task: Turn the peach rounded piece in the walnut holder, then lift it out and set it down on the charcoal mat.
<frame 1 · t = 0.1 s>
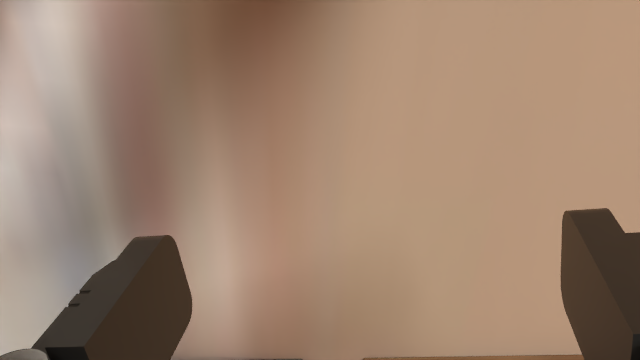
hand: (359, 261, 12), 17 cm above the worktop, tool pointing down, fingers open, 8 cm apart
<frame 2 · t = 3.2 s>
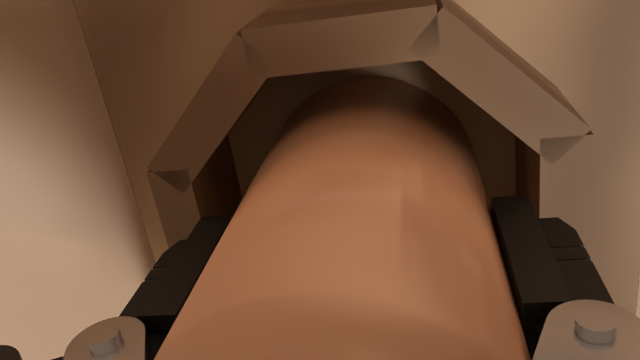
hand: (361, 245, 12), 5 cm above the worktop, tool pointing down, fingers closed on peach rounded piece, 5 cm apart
peach rounded piece: (371, 176, 16), point 2 cm above the worktop, touching gripper, walnut holder
walnut holder: (374, 154, 17), on the worktop
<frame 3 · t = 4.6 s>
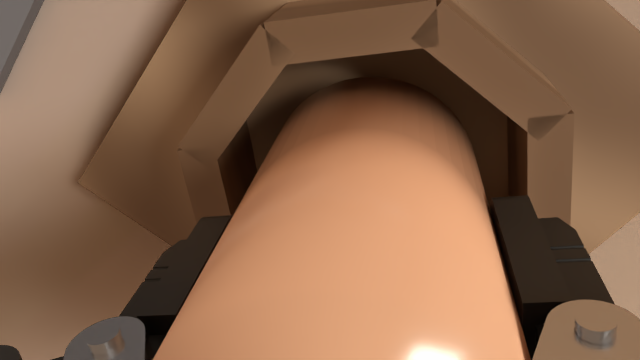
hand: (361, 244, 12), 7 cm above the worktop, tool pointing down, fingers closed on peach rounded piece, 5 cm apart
peach rounded piece: (371, 175, 16), point 3 cm above the worktop, touching gripper
walnut holder: (379, 138, 18), on the worktop
when the fingers open (5 cm above the worktop, at t = 5.7 s): peach rounded piece stays where it is, resting on walnut holder.
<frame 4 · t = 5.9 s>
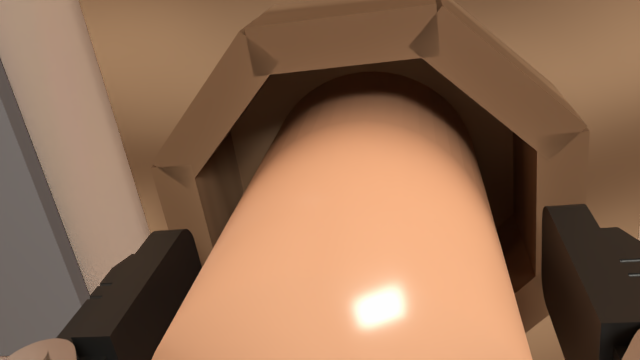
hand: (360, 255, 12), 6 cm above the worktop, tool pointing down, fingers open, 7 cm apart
peach rounded piece: (372, 169, 16), point 1 cm above the worktop, touching walnut holder
walnut holder: (374, 151, 17), on the worktop
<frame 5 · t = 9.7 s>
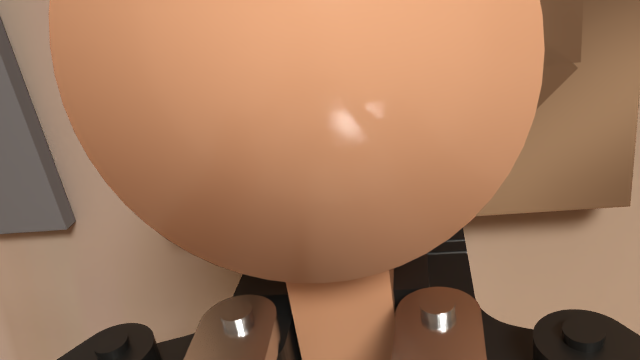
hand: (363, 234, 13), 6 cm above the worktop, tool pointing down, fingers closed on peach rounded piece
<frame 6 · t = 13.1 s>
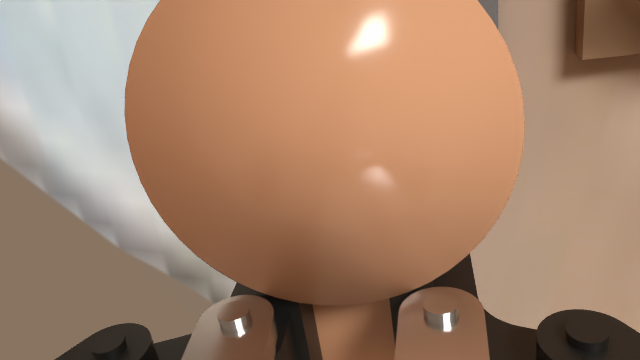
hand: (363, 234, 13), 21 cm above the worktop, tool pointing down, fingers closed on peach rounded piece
peach rounded piece: (361, 23, 16), point 16 cm above the worktop, touching gripper
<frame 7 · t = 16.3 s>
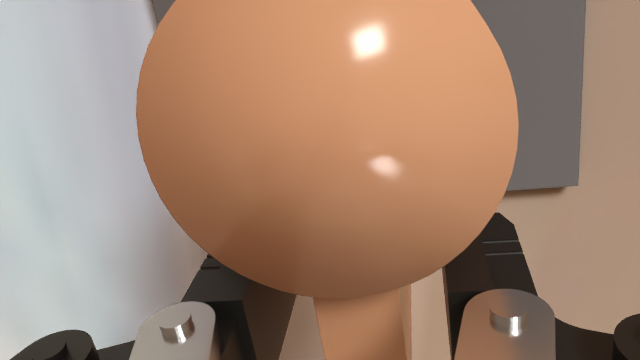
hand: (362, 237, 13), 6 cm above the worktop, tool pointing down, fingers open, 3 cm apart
peach rounded piece: (362, 24, 16), point 1 cm above the worktop, touching charcoal mat
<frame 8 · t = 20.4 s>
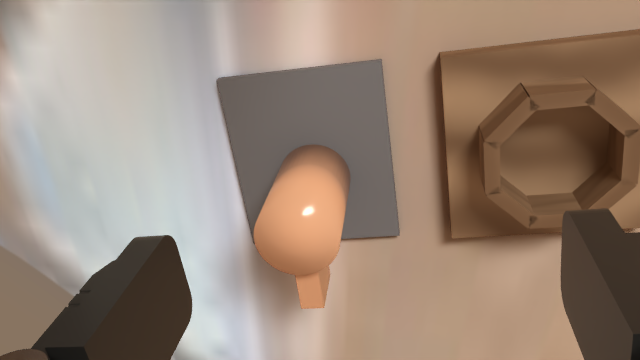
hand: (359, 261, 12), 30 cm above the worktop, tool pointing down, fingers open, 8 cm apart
charcoal mat: (312, 157, 44), on the worktop
peach rounded piece: (314, 177, 44), point 1 cm above the worktop, touching charcoal mat
walnut holder: (545, 137, 41), on the worktop
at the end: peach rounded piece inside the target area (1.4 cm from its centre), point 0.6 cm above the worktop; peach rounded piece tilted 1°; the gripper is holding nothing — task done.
